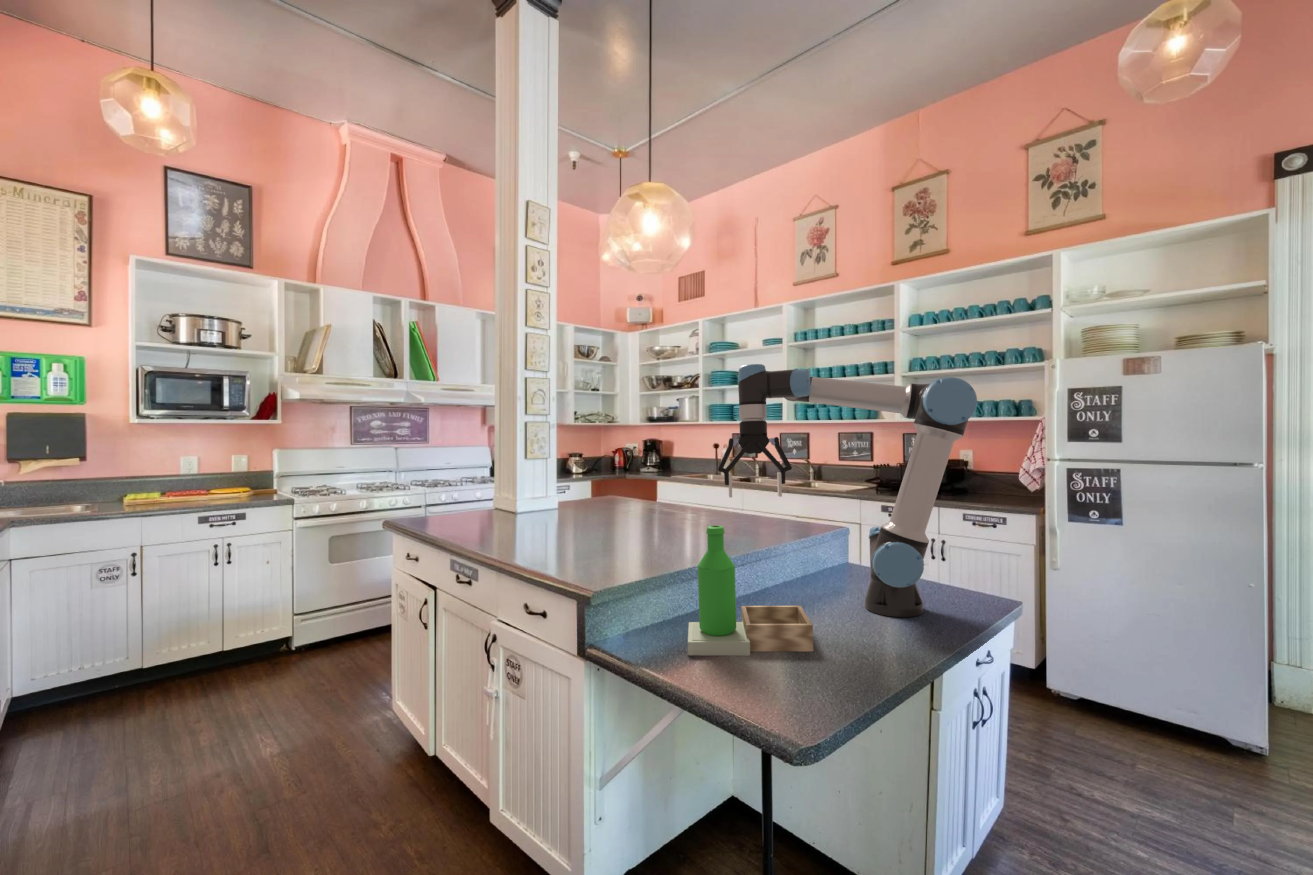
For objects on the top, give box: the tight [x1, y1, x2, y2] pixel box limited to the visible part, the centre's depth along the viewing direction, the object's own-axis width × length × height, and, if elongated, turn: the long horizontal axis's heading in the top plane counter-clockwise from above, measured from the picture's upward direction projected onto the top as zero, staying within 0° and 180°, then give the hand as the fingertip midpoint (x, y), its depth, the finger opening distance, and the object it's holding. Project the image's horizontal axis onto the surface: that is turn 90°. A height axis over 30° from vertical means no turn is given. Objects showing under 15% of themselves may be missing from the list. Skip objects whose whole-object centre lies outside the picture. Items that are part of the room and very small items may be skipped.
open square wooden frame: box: [740, 605, 814, 652], centre depth 135 cm, size 15×15×6 cm
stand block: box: [687, 621, 751, 657], centre depth 133 cm, size 14×14×3 cm
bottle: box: [697, 525, 737, 636], centre depth 134 cm, size 9×9×25 cm
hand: (755, 496), depth 156 cm, fingers open, 13 cm apart
